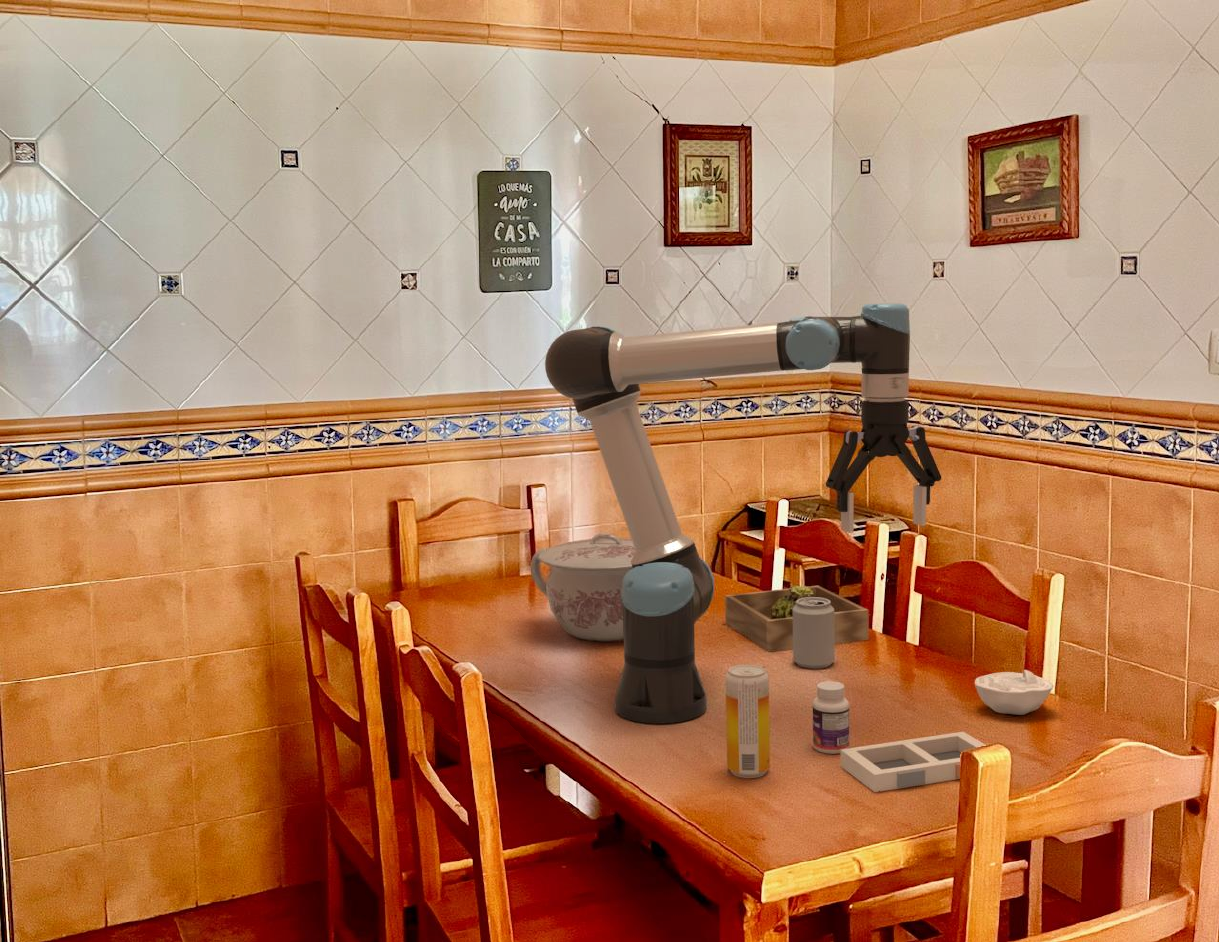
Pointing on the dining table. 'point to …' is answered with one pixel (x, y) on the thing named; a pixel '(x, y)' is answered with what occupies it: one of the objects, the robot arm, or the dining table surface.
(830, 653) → the can
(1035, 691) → the cell model
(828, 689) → the pill bottle
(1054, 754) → the dining table surface
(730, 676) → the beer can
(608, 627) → the chamber pot
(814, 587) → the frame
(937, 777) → the socket block
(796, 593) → the green leafy plant
